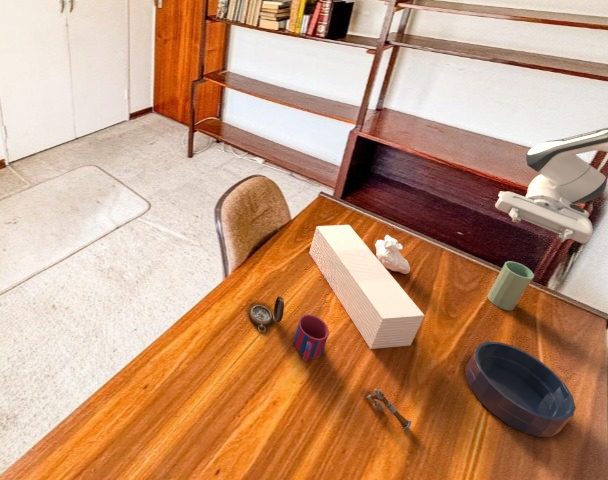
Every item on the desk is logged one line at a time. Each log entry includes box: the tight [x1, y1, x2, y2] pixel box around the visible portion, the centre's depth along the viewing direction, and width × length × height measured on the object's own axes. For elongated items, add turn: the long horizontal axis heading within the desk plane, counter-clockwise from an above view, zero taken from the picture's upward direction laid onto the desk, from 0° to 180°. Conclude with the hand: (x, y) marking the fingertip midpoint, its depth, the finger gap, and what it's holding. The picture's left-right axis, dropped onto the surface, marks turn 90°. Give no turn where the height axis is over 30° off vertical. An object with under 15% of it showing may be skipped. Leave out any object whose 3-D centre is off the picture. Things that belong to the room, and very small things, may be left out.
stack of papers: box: [308, 224, 426, 350], centre depth 108 cm, size 32×11×11 cm, turn 6°
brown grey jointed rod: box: [365, 388, 413, 431], centre depth 82 cm, size 2×8×4 cm, turn 46°
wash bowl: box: [464, 341, 576, 438], centre depth 86 cm, size 16×16×6 cm
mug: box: [293, 314, 330, 362], centre depth 93 cm, size 7×10×7 cm
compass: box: [248, 295, 285, 333], centre depth 100 cm, size 8×8×7 cm
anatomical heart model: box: [374, 234, 411, 275], centre depth 119 cm, size 12×8×11 cm
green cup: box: [486, 260, 535, 311], centre depth 108 cm, size 6×6×12 cm
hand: (538, 229), depth 108 cm, fingers open, 8 cm apart
